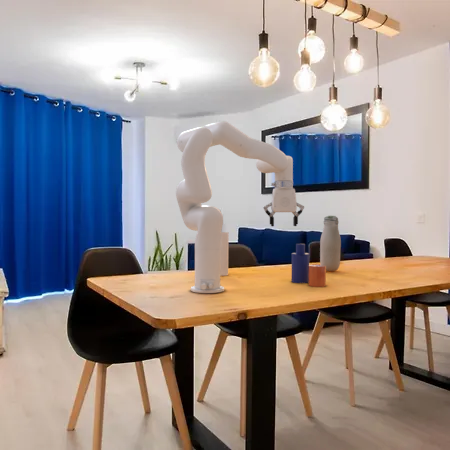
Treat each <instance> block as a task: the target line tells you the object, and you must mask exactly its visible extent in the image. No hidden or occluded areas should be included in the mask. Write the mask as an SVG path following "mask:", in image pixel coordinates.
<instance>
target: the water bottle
mask: <svg viewBox="0 0 450 450" xmlns="http://www.w3.org/2000/svg"><path fill="white" fill-rule="evenodd" d="M309 265H310V253H309V252H306V244H305V243H296V244H295V252H292V253H291V283H294V284H308V266H309Z"/></svg>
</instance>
